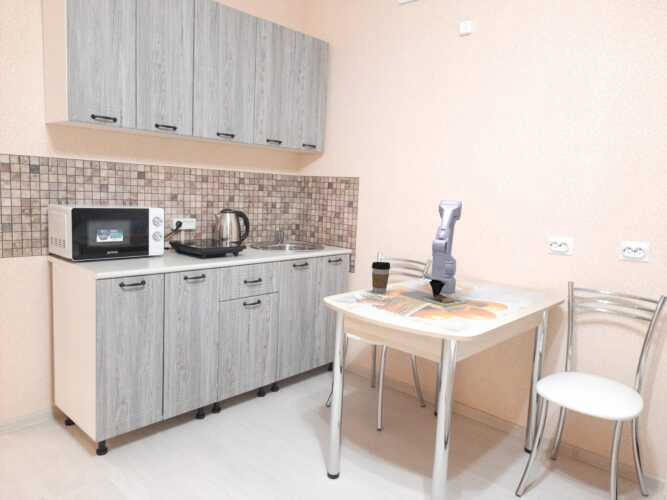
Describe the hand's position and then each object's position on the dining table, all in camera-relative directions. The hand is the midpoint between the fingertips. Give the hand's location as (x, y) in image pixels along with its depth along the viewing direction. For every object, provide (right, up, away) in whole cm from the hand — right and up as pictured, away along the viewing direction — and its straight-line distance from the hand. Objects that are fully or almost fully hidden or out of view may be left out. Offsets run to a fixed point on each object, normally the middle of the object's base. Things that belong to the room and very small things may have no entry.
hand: (436, 297), depth 220 cm
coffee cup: (-24, 0, +9) cm, 26 cm away
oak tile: (+4, -3, -5) cm, 7 cm away
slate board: (-6, -1, +7) cm, 9 cm away
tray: (+3, -3, -3) cm, 5 cm away
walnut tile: (+1, -2, -2) cm, 3 cm away
